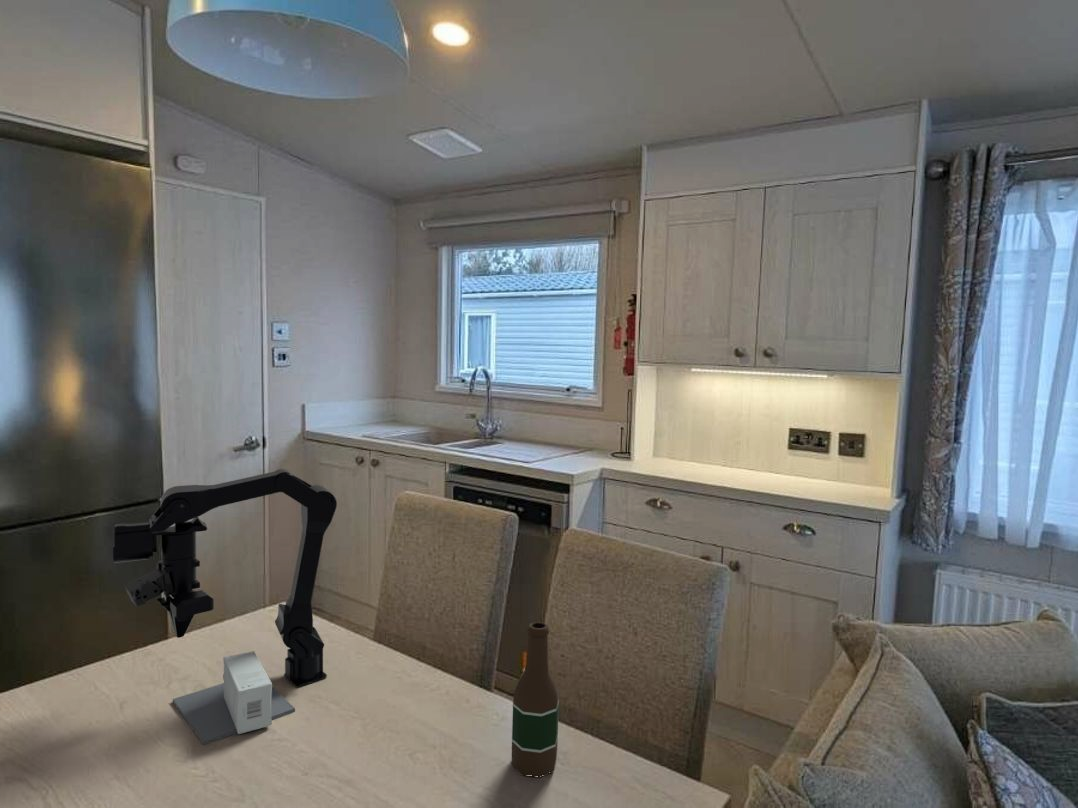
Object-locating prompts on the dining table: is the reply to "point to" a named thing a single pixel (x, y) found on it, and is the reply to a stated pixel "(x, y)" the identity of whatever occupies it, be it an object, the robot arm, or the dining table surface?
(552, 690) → the beer bottle
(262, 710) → the skincare box
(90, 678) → the dining table surface
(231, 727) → the mat
